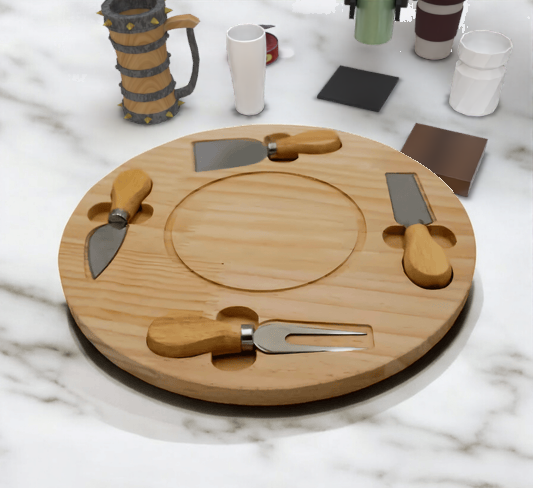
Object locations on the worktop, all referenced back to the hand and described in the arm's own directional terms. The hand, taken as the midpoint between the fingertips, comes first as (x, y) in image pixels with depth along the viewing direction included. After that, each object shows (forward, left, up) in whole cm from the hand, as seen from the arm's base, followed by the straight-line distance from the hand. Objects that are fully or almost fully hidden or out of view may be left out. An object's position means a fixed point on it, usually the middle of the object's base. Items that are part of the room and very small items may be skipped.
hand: (374, 11), depth 102 cm
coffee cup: (-4, -28, -20) cm, 35 cm away
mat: (+5, -9, -20) cm, 23 cm away
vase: (-16, -13, -20) cm, 29 cm away
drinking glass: (+21, +5, -20) cm, 29 cm away
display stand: (-15, +8, -20) cm, 26 cm away
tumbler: (+1, -5, -7) cm, 8 cm away
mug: (+36, +11, -20) cm, 42 cm away
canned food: (+29, -13, -20) cm, 38 cm away
